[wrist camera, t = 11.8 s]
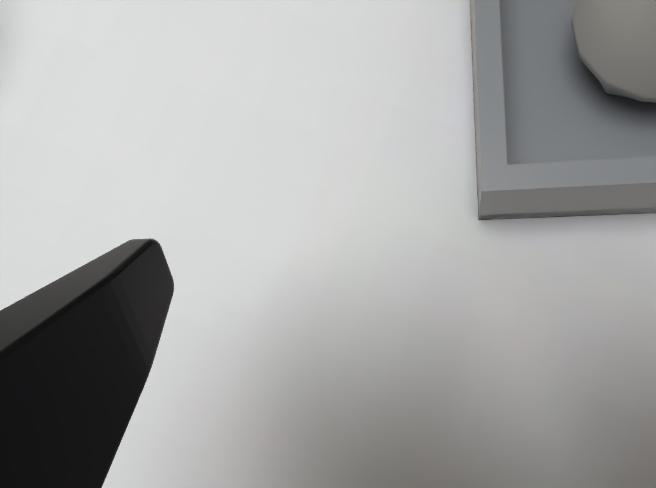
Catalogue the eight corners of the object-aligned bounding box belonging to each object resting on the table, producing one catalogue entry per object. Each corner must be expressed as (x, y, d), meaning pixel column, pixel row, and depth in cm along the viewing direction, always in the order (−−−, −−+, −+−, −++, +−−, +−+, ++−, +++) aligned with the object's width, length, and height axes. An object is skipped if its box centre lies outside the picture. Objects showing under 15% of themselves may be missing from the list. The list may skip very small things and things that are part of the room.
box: (801, -111, 22) (873, -211, 18) (851, 205, 20) (946, 168, 16) (467, -64, 24) (467, -142, 21) (478, 219, 22) (481, 191, 18)
